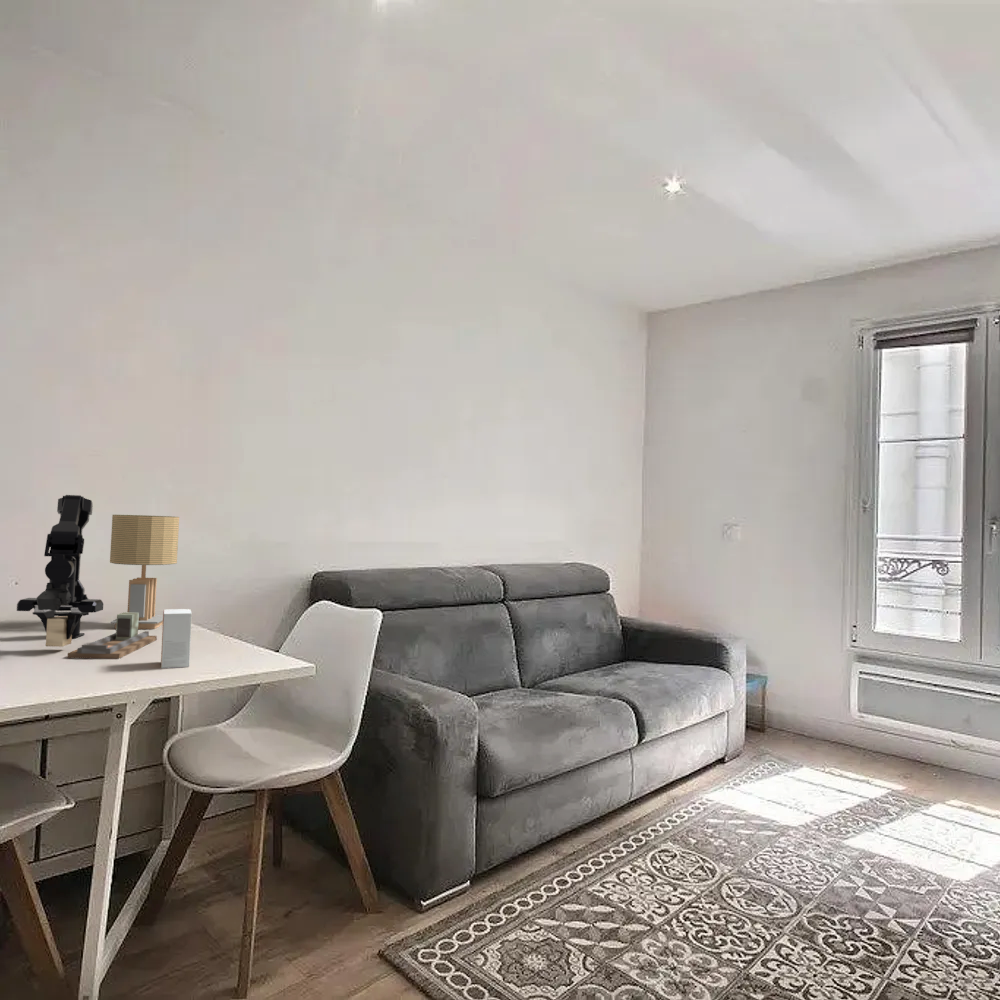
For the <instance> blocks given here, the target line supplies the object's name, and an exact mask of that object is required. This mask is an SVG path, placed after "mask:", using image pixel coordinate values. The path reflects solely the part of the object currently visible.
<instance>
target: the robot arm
mask: <svg viewBox="0 0 1000 1000" xmlns="http://www.w3.org/2000/svg"><path fill="white" fill-rule="evenodd" d="M56 508H57V511H56V512H57V514H58V515H60V517H59V521H58V523H56V524H55V525H53V526H52V527H51V529H50V532H49V533H47V536H46V543H45V549H44V555H43V556H44V557H50V561H49V562H47V564H46V565H45V567H44V573H45V576H46V577H47V579H49V582H47V583H46V586H45V587H46V588H45V589H44V591H42V592H41V593H40V594H39V595H38V596H36V597H27V598H26V597H25V598H21V599H19V601H17V604H16V611H17V612H30V611H32V610H33V612H32V615H33V616H34V615H36V616H37V617H38V618H39V619H40V620H41V622H42V625H43V627H44V630H45V634H46V633H47V619H48V618H52V617H55V616H67V617H68V624H67V632H66V639H70V637H71V635H72V639H76V638H78V637H82V636H84V635H85V632H81V619H82V617H85V616H88V615H89V614H90V613H97V612H100V611H104V602H103V600H102V599H100V598H99V599H94V598H92V599H91V598H88V596H87V595H88V594H85V591H86V590H85V586H84V585H83V584H82V582H81V580H80V572H81V556H82V554H83V553H84V546H85V538H84V537H83V529H84V528H85V527H86V526H87V525H88V523H89V521H90V516H92V515H93V501H92V500H91V499H89V498H88V499H87V498H86V497H84V496H82V495H80V494H79V495H77V494H66V495H62V497H61V498H58V499H57V507H56Z"/></svg>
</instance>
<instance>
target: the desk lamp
mask: <svg viewBox="0 0 1000 1000" xmlns="http://www.w3.org/2000/svg"><path fill="white" fill-rule="evenodd" d="M111 515H112V516H111V518H112V519H111V535H110V538H111V539H110V553H109V563H110V564H114V565H124V566H125V565H126V566H128V565H129V566H141V574H140V575H141V576H140V577H136V578H132V579H129V580H128V593H127V594H128V598H127V611H126V612H134V613H139V621H138V630H156V629H157V628H158V627H160V626H163V614H156V598H157V582H158V578H157V577H147V576H146V575H147V566H165V565H169V566H170V565H176V564H178V547H179V530H180V529H179V528H180V516H170V515H169V516H168V515H166V516H165V515H143V514H142V515H141V514H139V515H137V514H111ZM110 624H115V625H114V629H115V630H116V625H117V618H115V619H113V620H111V621H110Z"/></svg>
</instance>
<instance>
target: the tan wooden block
mask: <svg viewBox="0 0 1000 1000" xmlns="http://www.w3.org/2000/svg"><path fill="white" fill-rule="evenodd" d="M67 624H68V617H67V616H54V617H52V618H48V619H47V633H46V632H45V634H46V635H45V647H50V648H51V647H52V648H53V647H56V648H57V647H59V648H61V647H62V648H63V647H65V646H68V645H71V644H72V639H73V638H72V635H71V637H70V639H66V632H67Z"/></svg>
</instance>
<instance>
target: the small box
mask: <svg viewBox="0 0 1000 1000" xmlns="http://www.w3.org/2000/svg"><path fill="white" fill-rule="evenodd" d="M162 612H163V613H162V615H163V624H162V631H161V632H162V633H161V652H160V654H161V655H160V656H161V657H160V661H161V663H160V668H161V669H173V668H174V669H175V668H189V667H190V663H191V662H190V661H191V659H190V658H191V639H192V637H191V635H192V615H193V613H192V610H191V608H190V609H189V608H169V609H167V608H166V609H163V611H162Z"/></svg>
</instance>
